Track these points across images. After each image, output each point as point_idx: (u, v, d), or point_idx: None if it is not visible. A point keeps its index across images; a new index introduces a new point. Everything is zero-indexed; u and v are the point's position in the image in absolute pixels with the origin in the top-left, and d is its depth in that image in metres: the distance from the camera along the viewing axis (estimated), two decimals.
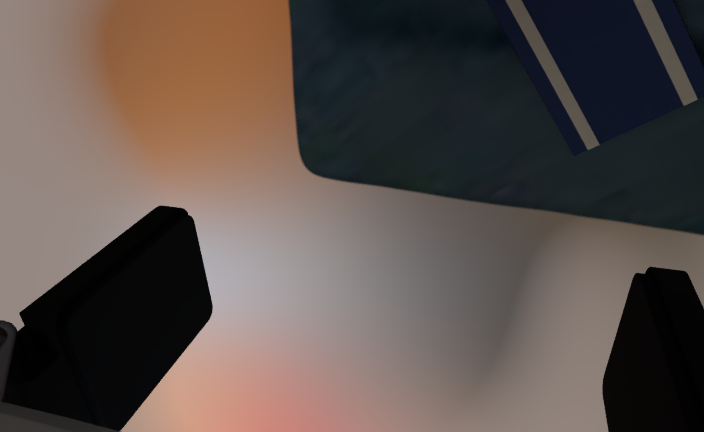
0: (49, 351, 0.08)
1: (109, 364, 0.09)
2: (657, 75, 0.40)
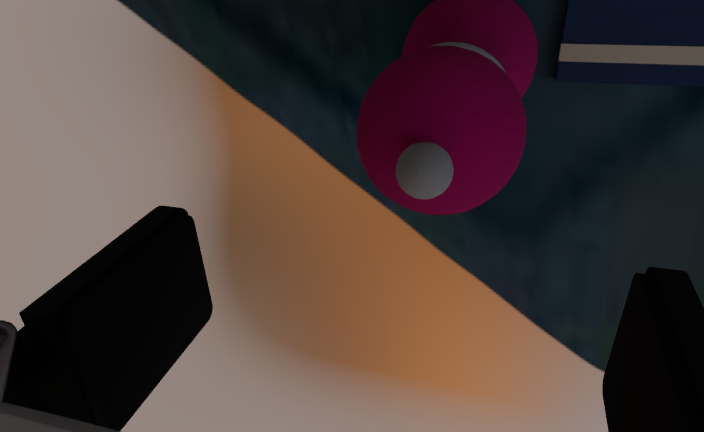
0: (49, 351, 0.08)
1: (109, 364, 0.09)
2: None
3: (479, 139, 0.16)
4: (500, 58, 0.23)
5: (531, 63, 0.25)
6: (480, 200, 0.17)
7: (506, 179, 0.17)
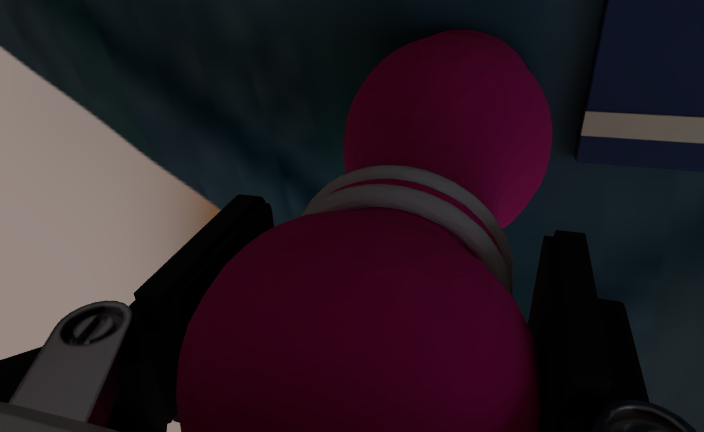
0: (159, 330, 0.09)
1: None
2: None
3: None
4: (491, 170, 0.13)
5: (543, 159, 0.16)
6: None
7: None
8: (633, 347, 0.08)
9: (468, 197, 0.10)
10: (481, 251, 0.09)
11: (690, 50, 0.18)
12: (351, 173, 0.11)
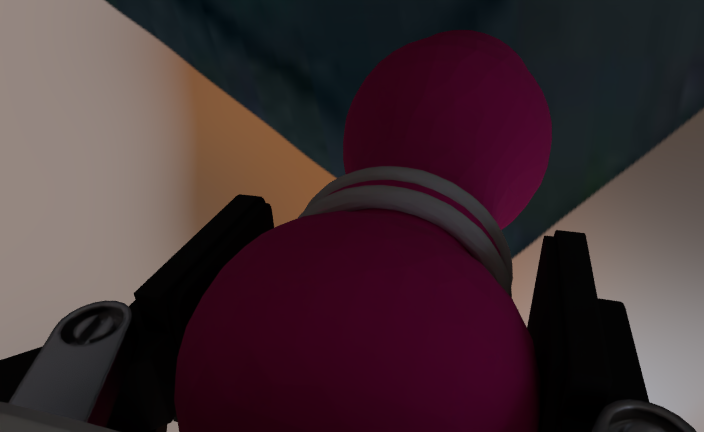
0: (159, 330, 0.09)
1: None
2: None
3: None
4: (490, 170, 0.13)
5: (543, 159, 0.16)
6: None
7: None
8: (633, 347, 0.08)
9: (467, 198, 0.10)
10: (480, 252, 0.09)
11: None
12: (350, 174, 0.11)
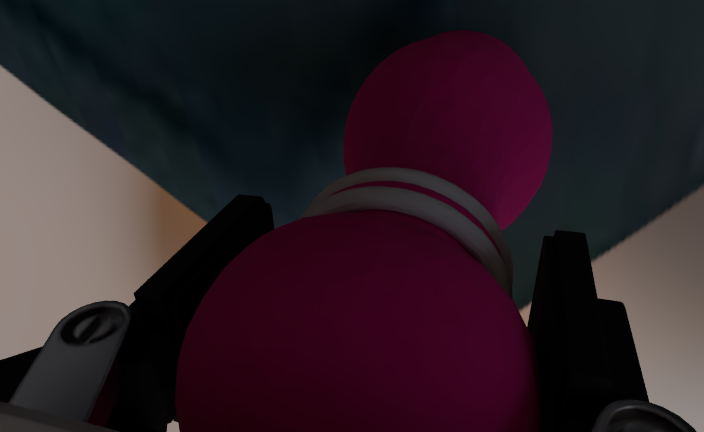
0: (159, 330, 0.09)
1: None
2: None
3: None
4: (490, 171, 0.13)
5: (543, 160, 0.16)
6: None
7: None
8: (633, 347, 0.08)
9: (468, 199, 0.10)
10: (481, 253, 0.09)
11: None
12: (351, 175, 0.11)
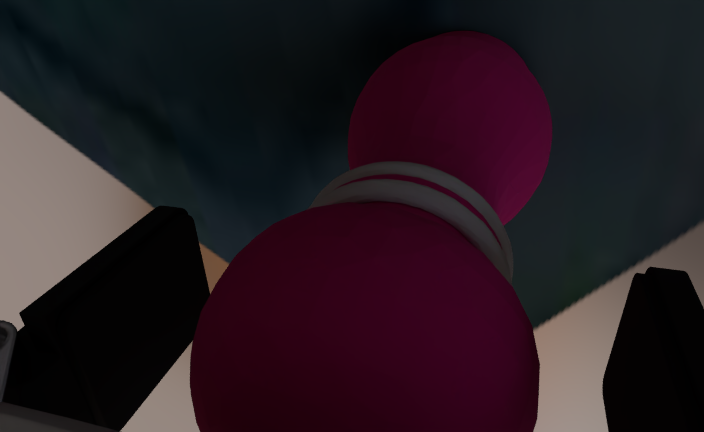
0: (49, 351, 0.08)
1: (109, 364, 0.09)
2: None
3: None
4: (491, 167, 0.13)
5: (543, 157, 0.16)
6: None
7: None
8: None
9: (469, 192, 0.10)
10: (482, 244, 0.10)
11: None
12: (356, 169, 0.11)
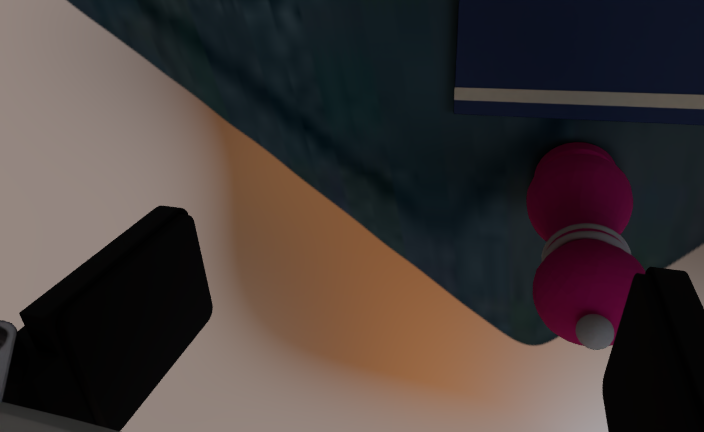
0: (49, 351, 0.08)
1: (109, 364, 0.09)
2: None
3: None
4: (615, 221, 0.32)
5: (630, 213, 0.35)
6: None
7: None
8: None
9: (617, 235, 0.30)
10: None
11: (496, 56, 0.38)
12: (573, 225, 0.30)
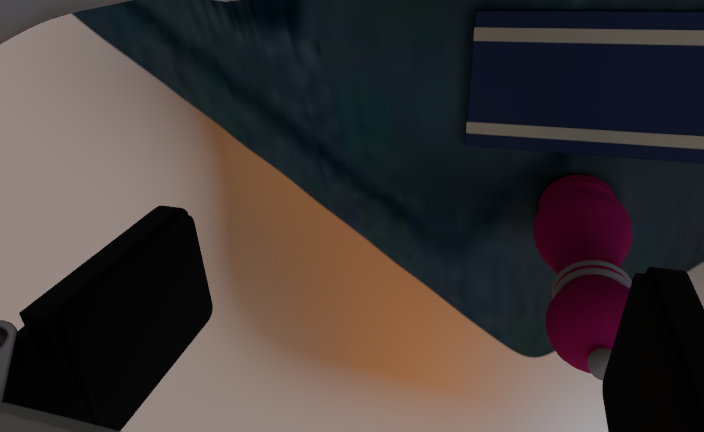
0: (49, 351, 0.08)
1: (109, 364, 0.09)
2: None
3: None
4: (618, 255, 0.35)
5: (630, 244, 0.38)
6: None
7: None
8: None
9: (622, 271, 0.33)
10: (629, 288, 0.32)
11: (507, 95, 0.41)
12: (581, 262, 0.33)
